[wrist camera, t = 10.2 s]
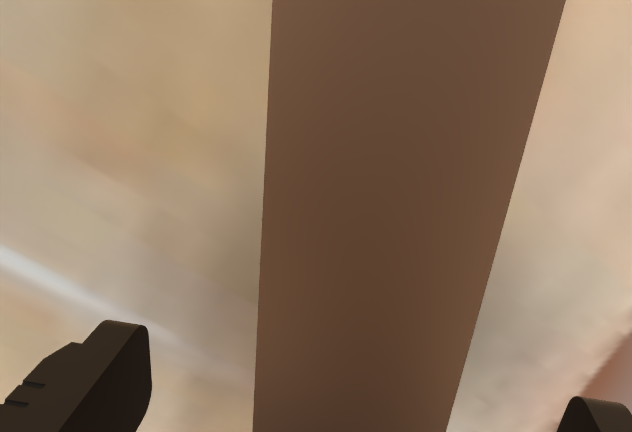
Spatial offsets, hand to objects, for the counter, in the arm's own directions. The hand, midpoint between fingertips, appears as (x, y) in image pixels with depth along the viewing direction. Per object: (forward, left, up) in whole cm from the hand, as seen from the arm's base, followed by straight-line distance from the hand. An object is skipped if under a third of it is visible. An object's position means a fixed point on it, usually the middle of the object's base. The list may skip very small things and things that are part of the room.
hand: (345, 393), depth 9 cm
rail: (0, 0, -3) cm, 3 cm away
